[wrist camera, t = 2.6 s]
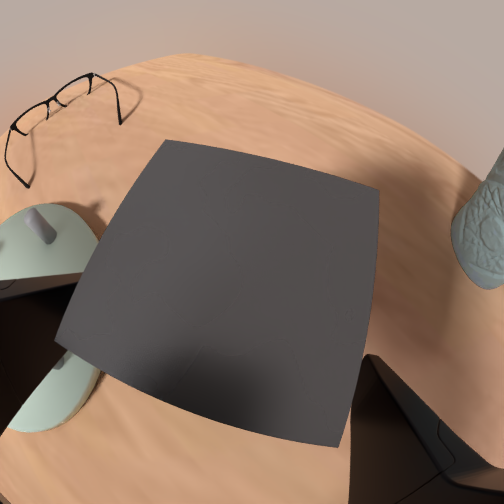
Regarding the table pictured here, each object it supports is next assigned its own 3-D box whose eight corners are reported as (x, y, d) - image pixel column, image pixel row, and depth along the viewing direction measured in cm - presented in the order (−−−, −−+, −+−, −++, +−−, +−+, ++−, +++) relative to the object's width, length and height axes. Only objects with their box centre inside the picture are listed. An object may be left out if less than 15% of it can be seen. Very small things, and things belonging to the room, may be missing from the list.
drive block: (272, 403, 14) (338, 447, 4) (177, 373, 15) (54, 340, 4) (299, 310, 17) (379, 186, 6) (210, 284, 18) (167, 136, 7)
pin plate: (144, 421, 13) (114, 430, 10) (-21, 427, 10) (-52, 424, 6) (104, 182, 22) (86, 148, 18) (-27, 248, 18) (-49, 229, 14)
